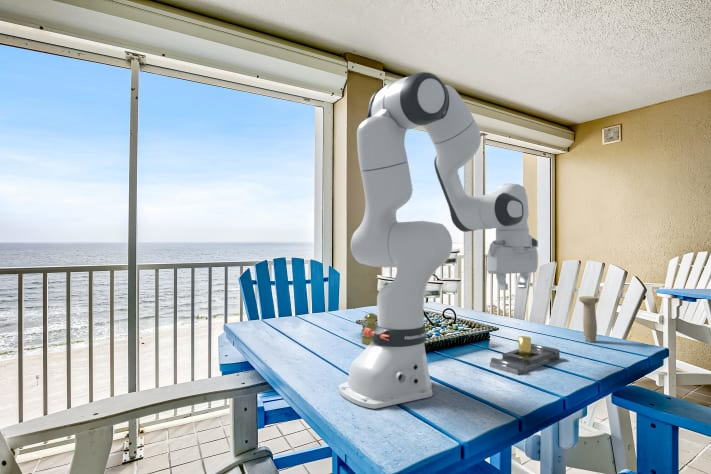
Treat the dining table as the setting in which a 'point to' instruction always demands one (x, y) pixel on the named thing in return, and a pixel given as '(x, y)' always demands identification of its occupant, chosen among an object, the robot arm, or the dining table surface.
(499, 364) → the gray stepped fixture plate
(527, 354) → the brass pin
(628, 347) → the dining table surface
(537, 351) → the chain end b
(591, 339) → the handle
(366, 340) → the olive green upright figure
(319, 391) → the dining table surface
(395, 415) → the dining table surface
